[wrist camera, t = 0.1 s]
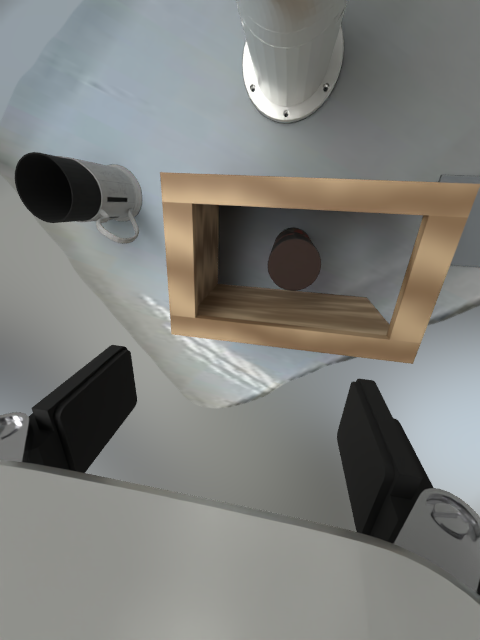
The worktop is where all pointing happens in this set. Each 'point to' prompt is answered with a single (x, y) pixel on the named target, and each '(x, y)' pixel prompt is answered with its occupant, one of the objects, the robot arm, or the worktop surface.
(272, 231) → the worktop surface
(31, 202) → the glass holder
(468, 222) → the mat
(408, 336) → the cover
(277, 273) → the deodorant
